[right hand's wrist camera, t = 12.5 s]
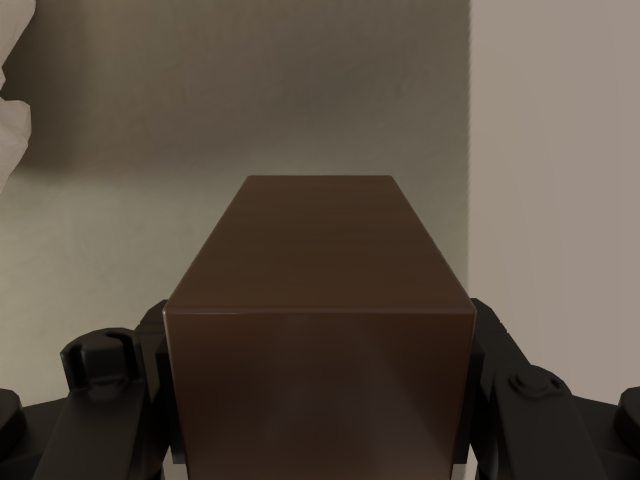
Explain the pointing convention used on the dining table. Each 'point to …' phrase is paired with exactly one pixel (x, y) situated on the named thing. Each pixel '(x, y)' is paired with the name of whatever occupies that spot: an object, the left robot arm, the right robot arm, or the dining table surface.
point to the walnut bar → (319, 338)
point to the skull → (3, 116)
